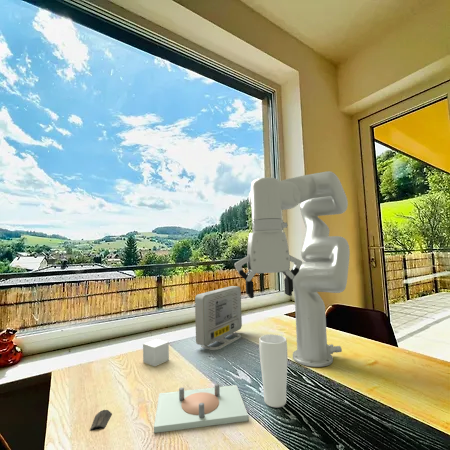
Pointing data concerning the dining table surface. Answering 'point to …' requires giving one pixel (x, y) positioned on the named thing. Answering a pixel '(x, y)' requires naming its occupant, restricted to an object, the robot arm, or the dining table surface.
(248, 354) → the dining table surface
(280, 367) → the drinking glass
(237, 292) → the network device
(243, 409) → the pin nest plate
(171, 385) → the dining table surface
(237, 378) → the dining table surface
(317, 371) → the dining table surface
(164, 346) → the white cube
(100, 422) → the block
